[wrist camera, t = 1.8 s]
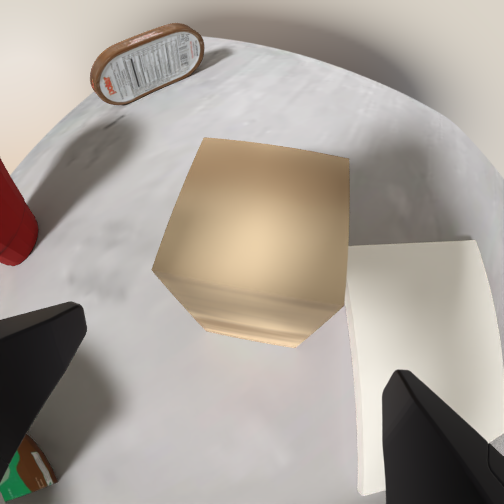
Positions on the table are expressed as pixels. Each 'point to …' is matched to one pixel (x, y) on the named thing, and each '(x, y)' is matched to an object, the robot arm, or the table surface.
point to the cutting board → (421, 337)
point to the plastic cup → (14, 222)
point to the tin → (146, 63)
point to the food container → (26, 472)
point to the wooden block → (259, 241)
